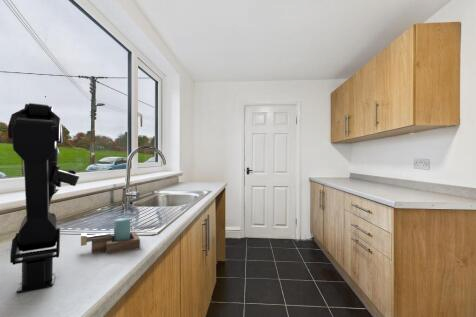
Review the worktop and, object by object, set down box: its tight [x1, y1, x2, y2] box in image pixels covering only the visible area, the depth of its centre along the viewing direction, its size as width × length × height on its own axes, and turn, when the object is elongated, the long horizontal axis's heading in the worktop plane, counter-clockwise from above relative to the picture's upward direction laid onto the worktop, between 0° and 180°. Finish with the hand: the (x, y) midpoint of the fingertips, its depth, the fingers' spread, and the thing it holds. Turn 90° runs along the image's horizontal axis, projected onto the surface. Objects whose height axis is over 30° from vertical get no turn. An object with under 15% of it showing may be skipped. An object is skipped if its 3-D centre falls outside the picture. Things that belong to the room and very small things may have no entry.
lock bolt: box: [80, 232, 112, 247], centre depth 81 cm, size 3×8×3 cm, turn 121°
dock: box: [91, 231, 141, 255], centre depth 84 cm, size 10×14×4 cm
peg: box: [113, 217, 131, 242], centre depth 85 cm, size 5×5×9 cm
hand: (45, 214), depth 74 cm, fingers closed
